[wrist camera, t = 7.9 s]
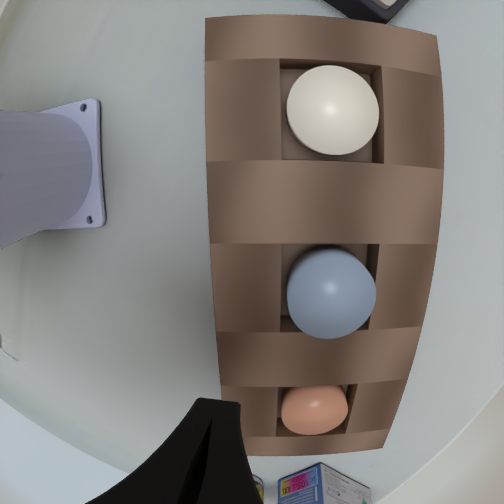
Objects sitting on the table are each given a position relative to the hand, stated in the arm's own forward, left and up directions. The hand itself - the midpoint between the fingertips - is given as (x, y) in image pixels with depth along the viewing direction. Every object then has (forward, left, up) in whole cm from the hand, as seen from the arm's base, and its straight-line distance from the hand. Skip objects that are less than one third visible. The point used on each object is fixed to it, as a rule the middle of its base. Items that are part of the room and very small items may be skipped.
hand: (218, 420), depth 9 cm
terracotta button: (+5, -8, -10) cm, 13 cm away
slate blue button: (+5, +1, -9) cm, 10 cm away
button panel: (+5, +1, -10) cm, 11 cm away
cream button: (+5, +10, -10) cm, 15 cm away
